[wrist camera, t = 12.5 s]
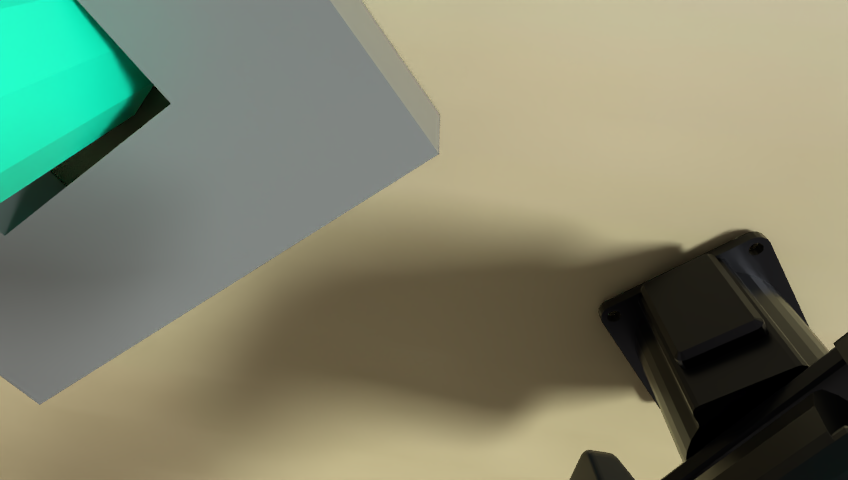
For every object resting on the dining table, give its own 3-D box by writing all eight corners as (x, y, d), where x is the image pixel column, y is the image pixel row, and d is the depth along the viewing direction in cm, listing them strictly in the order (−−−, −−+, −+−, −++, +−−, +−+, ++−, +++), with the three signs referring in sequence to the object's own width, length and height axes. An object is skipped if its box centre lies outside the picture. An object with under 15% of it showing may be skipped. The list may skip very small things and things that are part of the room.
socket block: (439, 114, 19) (439, 153, 16) (89, 343, 25) (39, 404, 22) (-38, -582, 12) (-199, -743, 9) (-381, -43, 18) (-552, -32, 15)
